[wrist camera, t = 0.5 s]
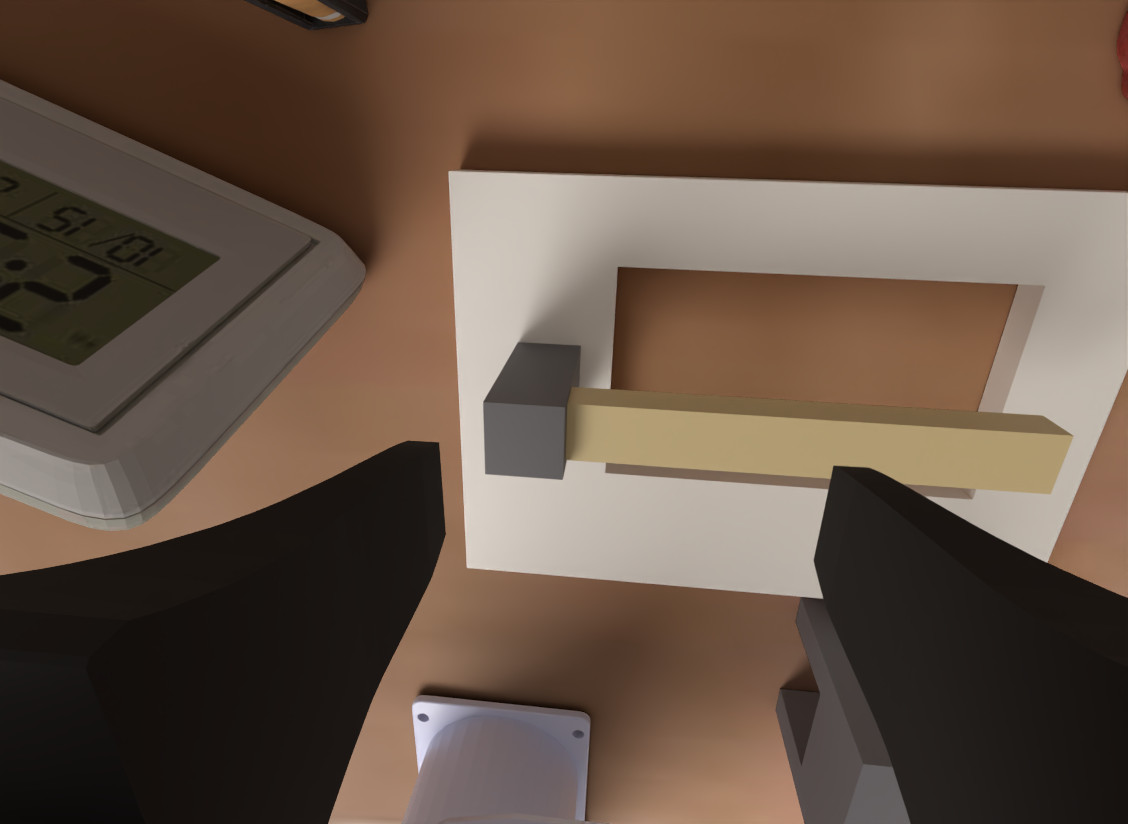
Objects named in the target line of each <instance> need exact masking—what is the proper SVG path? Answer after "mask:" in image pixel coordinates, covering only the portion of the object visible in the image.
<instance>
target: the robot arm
mask: <svg viewBox="0 0 1128 824" xmlns="http://www.w3.org/2000/svg"><path fill="white" fill-rule="evenodd" d="M445 535H446V532H445V518H444V505H443V491H442V477H441V463H440V450H439V443H438V442H421V441H406V442H403V443H400V444H397V445H395V446H393V447H391V448H389V449H387V450H385V451H382V452H380V453H379V454H377V455H375V456H373V457H371V458H369V459H367V460H365V461H363V462H361V463H359V464H357V465H355V466H353V467H351V468H349V469H347V470H345V471H343V472H341V473H340V474H338V475H336V476H334V477H332V478H330V479H328V480H326V481H323V482H321V483H319V484H317V485H315V486H313V487H311V488H308V489H306V490H304V491H302V492H300V493H298V494H295V495H293V496H291V497H289V498H287V499H285V500H283V501H280V502H278V503H276V504H273V505H271V506H268V507H266V508H263V509H261V510H258V511H256V512H253V513H251V514H248V515H245V516H242V517H240V518H237V519H234V520H231V521H229V522H226V523H223V524H220V525H217V526H214V527H211V528H208V529H204V530H201V531H198V532H194V533H191V534H187V535H184V536H181V537H177V538H174V539H170V540H167V541H163V542H160V543H157V544H153V545H150V546H146V547H142V548H138V549H134V550H130V551H125V552H121V553H117V554H113V555H109V556H104V557H99V558H94V559H90V560H85V561H80V562H75V563H71V564H65V565H60V566H55V567H50V568H44V569H38V570H32V571H25V572H19V573H13V574H6V575H0V824H328V822H329V819H330V816H331V813H332V810H333V807H334V804H335V801H336V798H337V796H338V793H339V790H340V787H341V784H342V781H343V778H344V775H345V773H346V770H347V767H348V764H349V761H350V758H351V755H352V753H353V750H354V747H355V745H356V742H357V739H358V737H359V734H360V731H361V729H362V726H363V723H364V720H365V718H366V715H367V712H368V710H369V707H370V704H371V702H372V699H373V697H374V695H375V693H376V690H377V688H378V686H379V684H380V681H381V679H382V677H383V675H384V673H385V671H386V669H387V667H388V665H389V663H390V661H391V659H392V657H393V655H394V653H395V651H396V649H397V647H398V645H399V643H400V641H401V639H402V637H403V635H404V633H405V631H406V629H407V627H408V625H409V623H410V621H411V619H412V617H413V615H414V613H415V611H416V609H417V607H418V605H419V603H420V601H421V599H422V597H423V595H424V593H425V591H426V589H427V586H428V584H429V582H430V580H431V578H432V575H433V572H434V569H435V566H436V563H437V560H438V557H439V554H440V551H441V548H442V545H443V541H444V538H445ZM813 561H814V565H815V569H816V573H817V577H818V581H819V585H820V588H821V592H822V595H823V599H824V602H825V606H826V609H827V611H828V614H829V616H830V619H831V621H832V623H833V626H834V628H835V630H836V633H837V635H838V637H839V640H840V642H841V644H842V647H843V649H844V651H845V653H846V656H847V658H848V660H849V662H850V665H851V667H852V669H853V671H854V674H855V676H856V678H857V680H858V683H859V685H860V687H861V689H862V692H863V694H864V696H865V698H866V701H867V703H868V705H869V707H870V710H871V712H872V714H873V716H874V719H875V721H876V723H877V726H878V728H879V731H880V733H881V736H882V739H883V741H884V744H885V746H886V749H887V752H888V754H889V758H890V761H891V764H892V767H893V770H894V773H895V776H896V779H897V782H898V786H899V789H900V792H901V795H902V798H903V801H904V804H905V807H906V810H907V814H908V817H909V820H910V824H1128V598H1126V597H1124V596H1121V595H1119V594H1116V593H1114V592H1112V591H1109V590H1107V589H1105V588H1102V587H1100V586H1098V585H1096V584H1093V583H1091V582H1089V581H1087V580H1084V579H1082V578H1080V577H1077V576H1075V575H1073V574H1071V573H1068V572H1066V571H1064V570H1062V569H1059V568H1057V567H1055V566H1053V565H1051V564H1049V563H1047V562H1045V561H1043V560H1040V559H1038V558H1036V557H1034V556H1032V555H1030V554H1028V553H1027V552H1025V551H1023V550H1021V549H1019V548H1017V547H1015V546H1013V545H1011V544H1009V543H1007V542H1005V541H1003V540H1001V539H999V538H997V537H995V536H994V535H992V534H990V533H988V532H986V531H984V530H983V529H981V528H979V527H977V526H975V525H973V524H972V523H970V522H968V521H966V520H965V519H963V518H961V517H959V516H958V515H956V514H954V513H952V512H951V511H949V510H947V509H945V508H944V507H942V506H940V505H938V504H937V503H935V502H933V501H931V500H930V499H928V498H926V497H925V496H923V495H921V494H919V493H918V492H916V491H914V490H912V489H911V488H909V487H907V486H905V485H904V484H902V483H900V482H898V481H896V480H894V479H893V478H891V477H889V476H887V475H885V474H883V473H881V472H879V471H876V470H874V469H872V468H868V467H850V466H833V470H832V475H831V480H830V484H829V489H828V494H827V499H826V503H825V508H824V513H823V518H822V522H821V527H820V532H819V537H818V541H817V546H816V551H815V556H814V560H813ZM412 714H413V723H414V733H415V743H416V753H417V763H418V773H419V774H418V777H417V780H416V783H415V786H414V789H413V792H412V795H411V798H410V801H409V804H408V806H407V809H406V812H405V815H404V818H403V821H402V824H608V823H599V822H590V821H585V806H586V789H587V772H588V756H589V739H590V722H591V720H590V717H589V716H588V715H587V714H586V713H584V712H581V711H572V710H563V709H553V708H544V707H534V706H525V705H515V704H506V703H496V702H486V701H477V700H467V699H458V698H448V697H439V696H429V695H420V696H417V697H416V698H415V699H414V702H413V704H412ZM577 730H580V731H577Z"/></svg>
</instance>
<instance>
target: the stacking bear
mask: <svg viewBox="0 0 1128 824" xmlns="http://www.w3.org/2000/svg"><path fill="white" fill-rule="evenodd" d="M1117 55H1118V58H1119V61H1120V63H1121V65H1122V68H1123V76H1122V93H1123V95H1124V97H1125V98H1127V99H1128V12H1127V14H1126V16H1125V18H1124V20H1123V23H1122V27H1121V30H1120V34H1119V37H1118V41H1117Z"/></svg>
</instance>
